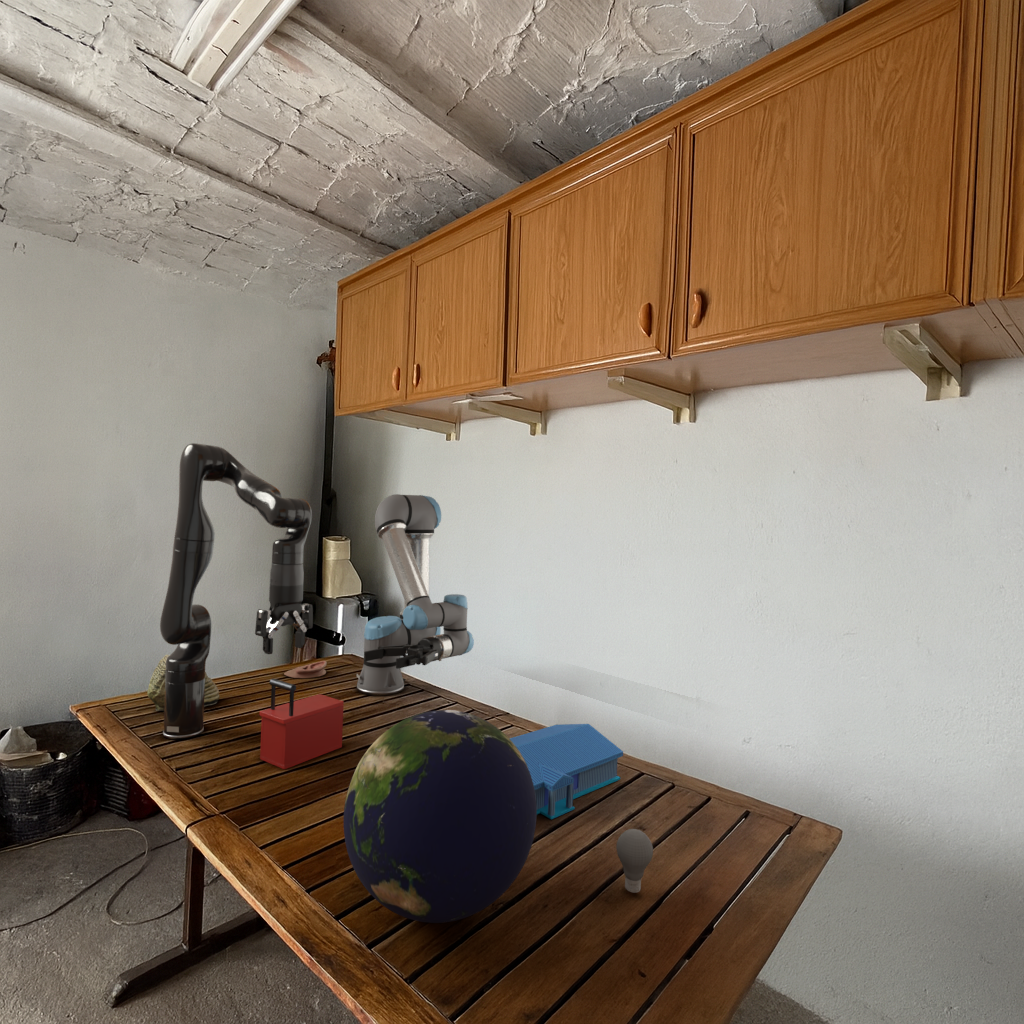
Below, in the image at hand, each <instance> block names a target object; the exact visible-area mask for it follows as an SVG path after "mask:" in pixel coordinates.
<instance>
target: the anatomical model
mask: <svg viewBox="0 0 1024 1024" xmlns="http://www.w3.org/2000/svg"><path fill="white" fill-rule="evenodd" d="M326 666H327V661H326V660H321V661H317V662H313V663H310V664H306V665H301V666H298V667H297V666H296V667H295V668H293V669H289V670H287V671H285V672H284V673H283V675H284V676H286V677H289V678H292V679H293V678H294V679H311V678H317V677H322V676H324V675H326V673H327V670H326V669H325V668H326Z"/></svg>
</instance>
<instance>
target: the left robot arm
mask: <svg viewBox="0 0 1024 1024" xmlns="http://www.w3.org/2000/svg"><path fill="white" fill-rule="evenodd" d="M178 474H179V475H178V476H179V477H178V506H177V515H176V516H177V517H176V525H175V530H174V538H173V546H172V557H171V563H170V564H171V565H170V570H169V578H168V583H167V590H166V594H165V599H164V603H163V608H162V611H161V616H160V621H159V631H160V634H161V637H162V638H163V640H164V641H165V642H166V643H167V644H168V645H172V646H176V647H175V649H174V650H173V652H172V653H170V654H169V655H170V656H168V658H167V660H166V674H165V705H164V710H163V731H162V737H164V738H166V739H169V740H185V739H190V738H191V739H192V738H194V737H197V736H199V735H202V734H203V732H204V730H205V729H204V722H205V721H204V718H205V706H204V693H205V672H206V664H207V663H206V662H207V658H208V657H209V654H210V649H211V639H212V617H211V614H210V612H209V610H208V609H207V608H206V607H205V606H203V605H201V604H196V603H195V604H194V596H195V592H196V590H197V587H198V585H199V583H200V581H201V579H202V578H203V576H204V574H205V573H206V571H207V569H208V567H209V565H210V563H211V561H212V558H213V553H214V546H215V539H216V538H215V537H216V533H215V529H214V525H213V523H212V521H211V519H210V518H211V517H210V516H209V514H208V513H207V510H206V507H205V505H204V501H203V485H204V482H220V483H224V484H225V485H228V486H231V487H232V488H234V492H235V494H236V495H237V497H238V498H239V500H241V501H242V502H243V503H244V504H246V505H248V506H249V507H251V508H252V509H254V510H256V511H257V512H258V514H259V515H260V516H261V517H262V519H263V520H264V521H265V522H266V523H267V524H268V525H270V526H272V527H274V528H278V529H286V530H285V533H284V534H283V536H281V537H279V538H277V539H274V540H273V542H272V544H271V545H272V546H271V566H270V570H269V589H268V590H269V592H268V595H269V596H268V601H269V609H260V608H258V609H257V610H256V616H255V617H256V618H255V631H254V634H255V636H258V637H261V638H262V651H263V653H264V654H266V655H272V654H273V653H274V649H273V648H274V635H275V634H276V632H277V631H279V630H280V628H281V627H286V626H288V625H289V626H293V627H294V629H295V630H296V631H295V636H294V637H295V638H294V647H295V648H297V649H303V648H304V645H305V643H306V640H305V639H306V632H307V630H309V629H310V630H311V629H313V627H314V622H313V621H314V617H313V616H314V615H313V612H314V610H313V608H314V607H313V604H310V603H302V602H303V600H304V577H305V573H304V572H305V571H304V546H305V543H306V540H307V537H308V535H309V530H310V527H311V524H312V520H313V519H312V518H313V512H312V507H311V505H310V503H309V502H308V501H307V500H306V499H304V498H301V497H300V498H298V497H283V495H282V492H281V491H280V490H279V488H277V487H275V486H274V485H273V484H271V483H269V482H268V481H266V480H264V479H262V478H261V477H259V476H258V475H256V474H254V473H253V472H251V471H250V470H249V469H248V468H247V467H246V466H245V465H243V464H242V462H240V461H239V460H238V459H237V458H236V457H235V456H233V454H231V453H230V452H229V451H228V450H226V449H225V448H223V447H221V446H217V445H211V444H204V443H198V442H197V443H195V442H193V443H189V444H187V445H186V446H184V448H183V450H182V452H181V455H180V460H179V471H178ZM300 615H301V616H300Z"/></svg>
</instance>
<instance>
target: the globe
mask: <svg viewBox="0 0 1024 1024" xmlns="http://www.w3.org/2000/svg"><path fill="white" fill-rule="evenodd" d="M537 817H538V814H537V806H536V795H535V790H534V785H533V781H532V778H531V774H530V772H529V769H528V766H527V764H526V762H525V760H524V758H523V756H522V755H521V753H520V751H519V750H518V749H517V747H516V746H515V745H514V744H513V742H512V741H511V740H510V738H509V737H508V735H507V734H505V732H503V731H502V730H501V729H500V728H498V727H497V726H495V725H494V724H492V723H491V722H489V721H488V720H485V719H483V718H482V717H479V716H477V715H475V714H472V713H468V712H464V711H460V710H455V709H438V710H430V711H425V712H422V713H421V712H420V713H418V714H414V715H412V716H409V717H407V718H405V719H403V720H401V721H399V722H397V723H395V724H394V725H393V726H391V727H390V728H388V729H387V730H386V731H385V732H383V733H382V734H381V735H380V736H378V738H377V739H376V740H375V741H374V742H373V743H372V744H371V745H370V746H369V747H368V749H367V750H366V751H365V753H364V754H363V756H362V757H361V758H360V760H359V762H358V764H357V765H356V768H355V770H354V773H353V775H352V777H351V778H350V782H349V784H348V789H347V791H346V797H345V800H344V809H343V835H344V843H345V847H346V851H347V855H348V858H349V861H350V863H351V866H352V868H353V870H354V873H355V874H356V876H357V878H358V880H359V881H360V882H361V884H362V885H363V887H364V888H365V889H366V890H367V892H368V893H369V894H370V895H371V896H372V897H373V899H375V901H377V903H379V904H381V905H382V906H383V907H384V908H386V909H387V910H389V911H391V912H392V913H394V914H396V915H398V916H400V917H403V918H406V919H408V920H411V921H416V922H419V923H427V924H428V923H429V924H444V923H451V922H456V921H459V920H463V919H467V918H469V917H471V916H473V915H476V914H478V913H480V912H482V911H483V910H485V909H487V908H488V907H489V906H490V905H492V904H494V903H495V902H496V901H497V900H498V899H499V898H501V896H503V895H504V893H506V891H508V889H510V887H511V886H512V885H513V883H514V882H515V881H516V879H517V878H518V876H519V875H520V873H521V871H522V869H523V867H524V866H525V864H526V862H527V860H528V857H529V854H530V852H531V849H532V845H533V843H534V838H535V832H536V827H537Z"/></svg>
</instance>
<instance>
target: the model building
mask: <svg viewBox="0 0 1024 1024" xmlns="http://www.w3.org/2000/svg"><path fill="white" fill-rule="evenodd" d="M509 739H510V740H511V741H512V742H513V744H514V745H515V746H516V747H517V749H518V750H519V751H520V753H521V755H522V756H523V758H524V760H525V762H526V764H527V766H528V769H529V772H530V774H531V778H532V781H533V785H534V790H535V795H536V806H537V815H539V814H540V815H543V816H544V817H546V818H548V819H549V820H553V819H556V818H558V817H560V816H563V815H565V814H567V813H570V812H573V811H574V810H576V809H575V808H576V807H575V806H574V804H573V803H574V800H575V799H577V798H580V797H582V796H585V795H587V794H589V793H592V792H594V791H596V790H599V789H601V788H604V787H605V786H608V785H610V784H612V783H615V782H618V781H620V780H621V777H620V776H618V759H619V758H621V757H624V751H623V750H622V749H620V748H619V746H617V744H615V743H613V742H612V741H611V740H609V738H607V737H606V736H605V735H603V733H601V732H600V731H598V730H597V729H596V728H595V727H593V726H592V725H591V724H590V723H563V724H562V723H561V724H554V725H550V726H546V727H544V728H540V729H537V730H534V731H529V732H527V733H524V734H520V735H517V736H513V737H510V738H509Z"/></svg>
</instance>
